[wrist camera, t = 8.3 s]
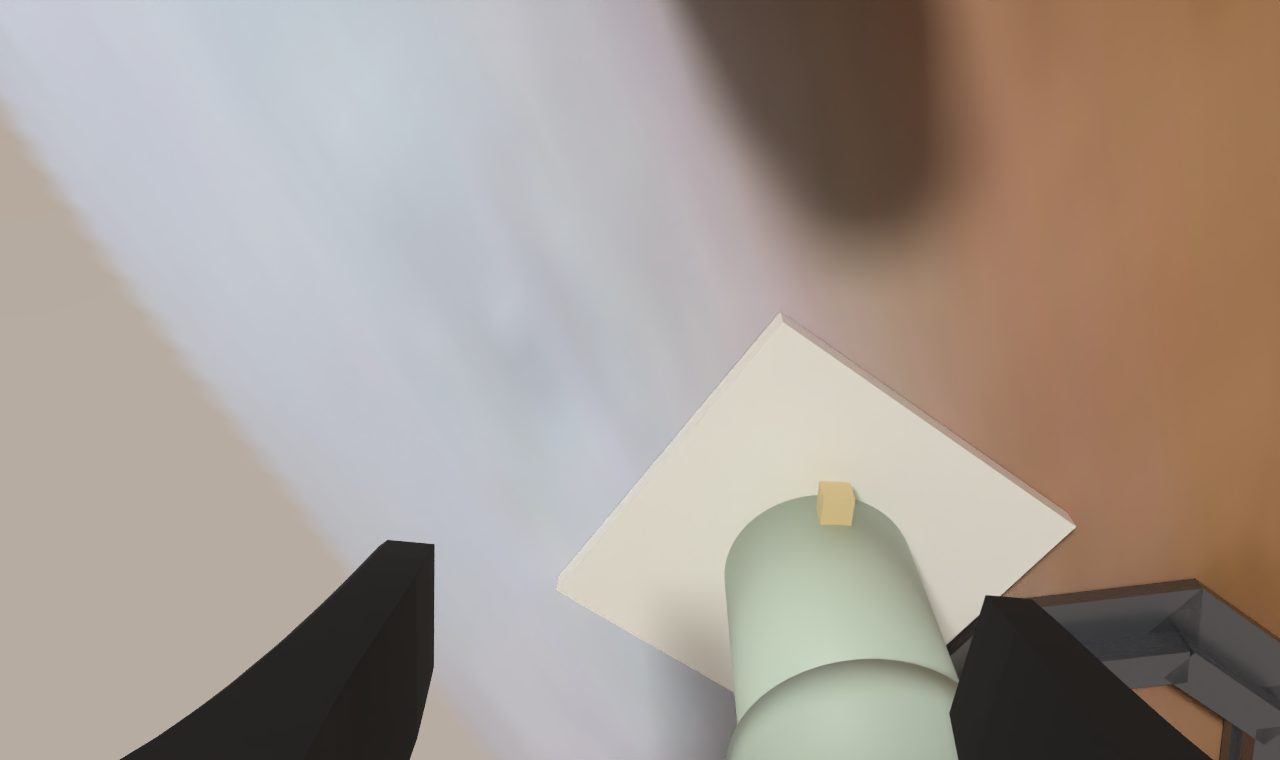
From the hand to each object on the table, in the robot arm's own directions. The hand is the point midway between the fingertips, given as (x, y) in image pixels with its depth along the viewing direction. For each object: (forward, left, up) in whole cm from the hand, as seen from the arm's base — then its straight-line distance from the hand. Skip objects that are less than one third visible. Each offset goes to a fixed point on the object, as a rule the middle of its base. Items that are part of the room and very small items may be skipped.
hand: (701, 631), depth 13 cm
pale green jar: (-6, +3, -10) cm, 12 cm away
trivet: (-6, +3, -10) cm, 12 cm away
